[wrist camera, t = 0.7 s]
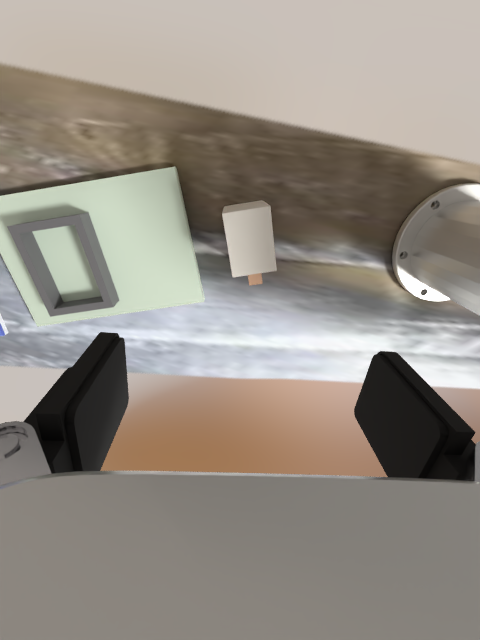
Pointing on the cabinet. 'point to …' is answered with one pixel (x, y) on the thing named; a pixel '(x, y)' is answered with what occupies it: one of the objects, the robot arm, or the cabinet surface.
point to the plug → (250, 239)
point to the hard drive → (2, 327)
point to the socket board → (100, 247)
